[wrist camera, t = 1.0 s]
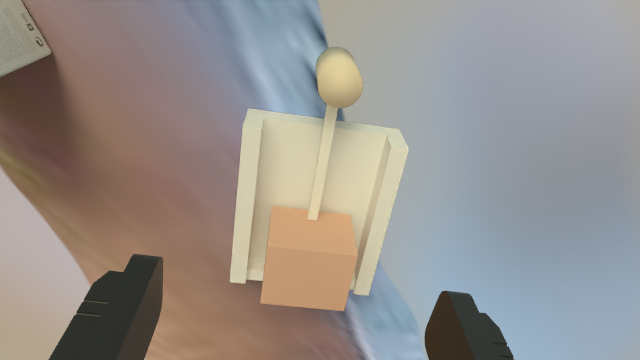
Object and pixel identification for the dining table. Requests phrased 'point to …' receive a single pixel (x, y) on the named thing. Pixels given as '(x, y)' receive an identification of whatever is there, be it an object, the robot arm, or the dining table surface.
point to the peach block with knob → (315, 214)
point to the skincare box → (18, 37)
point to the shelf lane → (297, 180)
